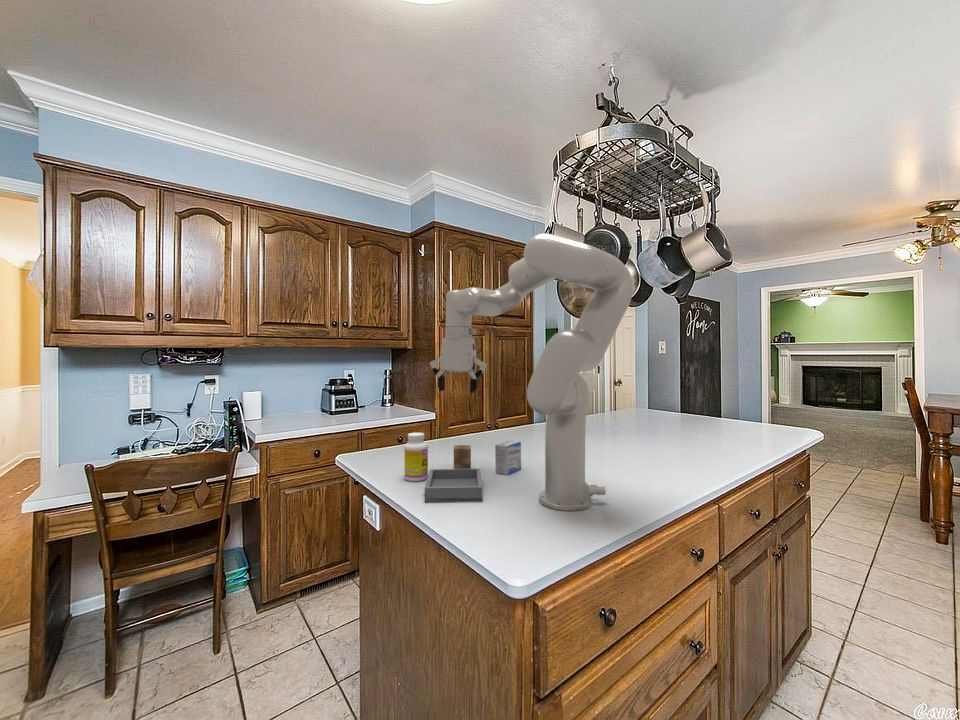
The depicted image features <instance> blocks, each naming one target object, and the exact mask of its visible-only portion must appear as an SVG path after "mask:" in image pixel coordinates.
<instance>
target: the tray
mask: <svg viewBox="0 0 960 720" xmlns="http://www.w3.org/2000/svg"><path fill="white" fill-rule="evenodd" d="M429 502H430V503H470V502H471V503H472V502H473V503H477V502H479V503H480V502H483V483H482V474H481V468H476V467H475V468H471V469H454V468H431V469H429V470H428V477H427V478H426V481H425V486H424V503H425V504H426V503H429Z"/></svg>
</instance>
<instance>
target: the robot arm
mask: <svg viewBox="0 0 960 720" xmlns="http://www.w3.org/2000/svg"><path fill="white" fill-rule="evenodd" d="M507 272H508V273H507V274H508V275H507V276H508V279H509V281H508V282H507V283H505V284H503V285H501V286H500V287H498V288H496V289H494V290H493V289H488V288H481V287H475V286H473V287H467V288H464V289H453V290H449V291H447V293H446V296H445V299H446V300H445V336H444V337H443V339H442V343H441V347H440V356H439V357H437V358H435V359H434V360H432V361H430V362H429V365H430V367H431V369H432V372H433V373H434V374H435V375H436V378H437V388H438V391H439V392H442V391H445V390H446V376H445V375H446V373H447V372H448V373H449V372H450V373H451V372H452V373H454V372H455V373H467V374H469V376H470V378H471V379H470V381H469V382H470V384H469V392H470V394H473V393H476V391H477V390H478V379H479V378H480V376H482V375H483V373H484V371H485V370H486V368H487V366H488V365H487V363H485V362H483V361H482V360H480V359H478V358H477V350H476V343H475V339H474V338H472V337H473V335H476V334H477V330H476V329H474V328H473V327H472V318H473V316H483V317H497V316H499V315H502V314H504V313H506V312H509V311H511V310H512V309H514V308H516V307H517V306H518V305H520V304H521V303H522V302H523V300H524V299H525V298H526V297H527V295H528V294H529V293H531V292H533V291H535V290H537V289H538V288H541V287H542V286H544V285H547V284H548V283H550V282H552V281H554V280H556V279H560V280H561V281H562V280H563V281H565V282H568V283H571V284H574V285H577V286H580V287H584V288H588V289H592V290H593V291H594V294H593V296H592V297H591V299H590V300H588V302H587V304H586V305H585V307H584V309H583V311H582V313H581V314H580V318H579V319H578V321H577V323H576V324H575V326H574V328H566V329H562V330H560V331H558V332H556V333H555V334H554V335H552V337H550V339H549V340H548V341H547V342H546V345H545V347H544V349H543V351H542V353H541V355H540V357H539V360H538V362H537V364H536V366H535V369H534V370H533V373H532V374H531V377H530V378H529V379H530V380H529V382H528V385H527V388H526V398H527V402H528V405H529V406H530V408H531V409H532V410H533V411H534V412H535V413H537V414H540V415H545V416H546V419H545V426H544V427H545V429H544V433H545V434H544V458H545V459H544V463H545V464H544V490H542V491H541V492H540V493H539V494H538V502H540V504H542V506H545V507H548V508H550V509H553V510H557V511H581V510H585V509H587V508H589V507H591V506H592V503H593V498H592V497H593V495H594V496H596V495H597V496H605V495H606V494H607V493H606V492H607V490H606V487H605V486H598V485H597V484H588V483H587V482H586V424H587V422H586V421H587V412H588V406H589V405H588V404H589V397H590V396H589V395H590V393H589V386H588V384H587V383H588V382H586V380H585V379H584V377H583V376H582V375H581V374H579V373H581V372H588V371H592V370H594V369H595V368H597V367H598V366H599V365H600V363H601V362H602V360H603V358H604V356H605V354H606V352H607V350H608V348H609V346H610V344H611V342H612V340H613V338H614V336H615V333H616V332H617V329H618V328H619V326H620V323H621V321H622V319H623V317H624V315H625V314H626V312H627V310H628V307H629V305H630V303H631V301H632V297H633V292H634V282H633V281H634V280H633V278H632V275H631V273H630V271H629V269H628V267H627V266H626V265H625V264H624V263H623V261H622V260H620V259H619V258H618V257H616V256H615V255H614V254H611V253H609V252H607V251H605V250H602V249H600V248H597V247H595V246H593V245H590V244H587V243H584V242H579V241H576V240H572V239H568V238H564V237H562V236H561V237H560V236H557V235H554V234H551V233H547V232H545V233H544V232H543V233H542V232H541V233H538V234H536V235H534V236H532V237H531V238H530V239H529V240H528V241H527V242H526V245H525V246H524V249H523V257H522V258H520V259H519V260H517V261H515V262H513V263H512V264H511V265H510V266H509V268H508V271H507ZM437 364H439V368H440V369H439V368H438V367H437ZM477 365H478V366H479V370H477ZM476 370H477V371H476Z"/></svg>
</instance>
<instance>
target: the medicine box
mask: <svg viewBox="0 0 960 720" xmlns="http://www.w3.org/2000/svg"><path fill="white" fill-rule="evenodd" d="M494 454H495V459H494V460H495V461H494V462H495V473H496V474H500V475H506V476H509V475H512V474H513V473H515V472H518V471H520V470H522V442H521V441H520V440H511V439H510V440H507V441H504V442H500V443H498V444H497V443H496V444H495V453H494Z"/></svg>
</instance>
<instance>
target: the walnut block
mask: <svg viewBox="0 0 960 720" xmlns="http://www.w3.org/2000/svg"><path fill="white" fill-rule="evenodd" d="M453 469H472V447H471V445H470V444H465V445H464V444H459V445H456V444H455V445H453Z"/></svg>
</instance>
